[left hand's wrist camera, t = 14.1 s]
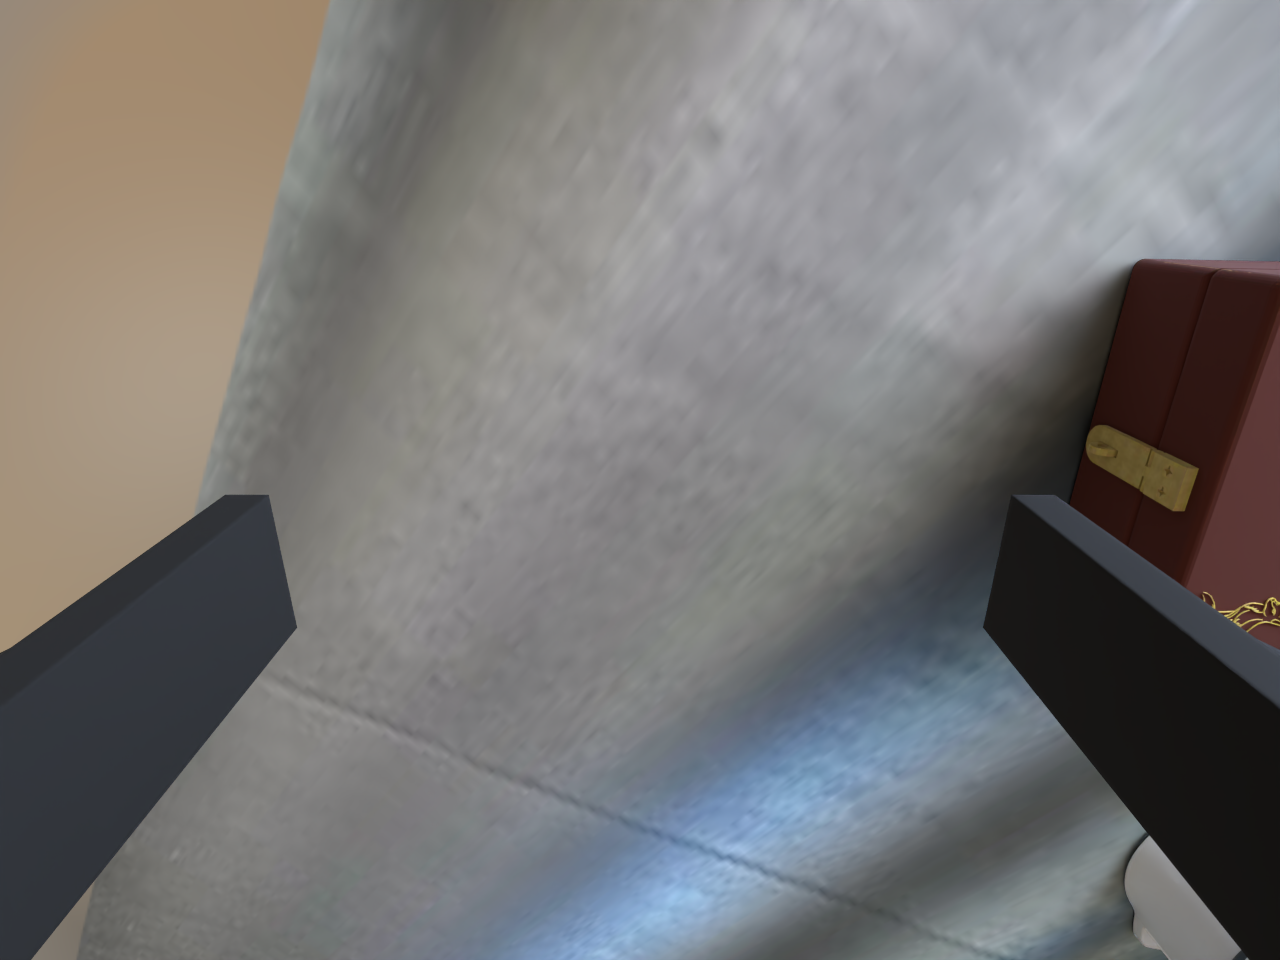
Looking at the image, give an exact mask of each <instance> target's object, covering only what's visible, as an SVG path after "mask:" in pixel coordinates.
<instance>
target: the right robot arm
mask: <svg viewBox="0 0 1280 960" xmlns="http://www.w3.org/2000/svg"><path fill="white" fill-rule="evenodd" d="M1124 883H1125V891H1126V895H1127V897H1128V899H1129V901H1130V903H1131V905H1132V907H1133V909H1134V912H1135V916H1134V922H1133V933H1134V935H1135V936H1136V937H1137V938H1138V940H1139V941H1140V942H1141V943H1142V944H1143V945H1144V946H1145V947H1148V948H1152V949H1159V950H1162V951H1163V953H1164V954H1165V955H1166V957H1167V958H1168V959H1169V960H1249V959H1248V958H1247V957H1246V955H1245V954H1244V953H1243V952H1242V950H1241V949H1240V948H1239V947H1238V945H1237V944H1236V943H1235V942H1234V940H1233V939H1232V938H1231V937H1230V935H1229V934H1228V933H1227V932H1226V930H1225V929H1224V928H1223V927H1222V925H1221V924H1220V923H1219V922H1218V920H1217V919H1216V918H1215V917H1214V915H1213V914H1212V913H1211V912H1210V910H1209V909H1208V908H1207V907H1206V905H1205V904H1204V903H1203V902H1202V900H1201V899H1200V898H1199V897H1198V895H1197V894H1196V893H1195V892H1194V890H1193V889H1192V888H1191V887H1190V885H1189V884H1188V883H1187V882H1186V880H1185V879H1184V878H1183V877H1182V875H1181V874H1180V873H1179V872H1178V870H1177V869H1176V868H1175V867H1174V865H1173V864H1172V863H1171V862H1170V860H1169V859H1168V858H1167V857H1166V855H1165V854H1164V853H1163V852H1162V850H1161V849H1160V848H1159V847H1158V845H1157V844H1156V843H1155V842H1154V840H1153V839H1152V838H1151V837H1150V835H1149V836H1148V837H1147V838H1146V839H1145V840H1144V841H1143V843H1142V844H1141V845H1140V846H1139V847H1138V849H1137V850H1136V851H1135V853H1134V854H1133V856H1132V858H1131V860H1130V862H1129V864H1128V866H1127V870H1126V873H1125V881H1124Z"/></svg>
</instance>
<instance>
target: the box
mask: <svg viewBox="0 0 1280 960" xmlns="http://www.w3.org/2000/svg"><path fill="white" fill-rule="evenodd" d="M1069 505H1070V506H1071V507H1072V508H1074V509H1075V510H1077V511H1078V512H1079V513H1081V514H1082V515H1084V516H1085V517H1086V518H1088V519H1089V520H1091V521H1092V522H1093V523H1095V524H1096V525H1098V526H1099V527H1100V528H1102V529H1103V530H1105V531H1106V532H1108V533H1109V534H1110V535H1112V536H1113V537H1115V538H1116V539H1117V540H1119V541H1120V542H1122V543H1123V544H1124V545H1126V546H1127V547H1129V548H1130V549H1131V550H1133V551H1134V552H1136V553H1137V554H1138V555H1140V556H1141V557H1143V558H1144V559H1145V560H1147V561H1148V562H1150V563H1151V564H1152V565H1154V566H1155V567H1157V568H1158V569H1159V570H1161V571H1162V572H1164V573H1165V574H1166V575H1168V576H1169V577H1171V578H1172V579H1173V580H1175V581H1176V582H1178V583H1179V584H1180V585H1182V586H1183V587H1185V588H1186V589H1187V590H1189V591H1190V592H1192V593H1193V594H1194V595H1196V596H1197V597H1199V598H1200V599H1201V600H1203V601H1204V602H1206V603H1207V604H1208V605H1210V606H1211V607H1213V608H1214V609H1216V610H1217V611H1218V612H1220V613H1221V614H1223V615H1224V616H1225V617H1227V618H1228V619H1230V620H1231V621H1232V622H1234V623H1235V624H1237V625H1238V626H1239V627H1241V628H1242V629H1244V630H1245V631H1246V632H1248V633H1249V634H1251V635H1252V636H1253V637H1255V638H1256V639H1258V640H1260V641H1262V642H1264V643H1267V644H1269V645H1271V646H1273V647H1275V648H1277V649H1279V650H1280V262H1275V261H1225V260H1174V259H1142V260H1140V261H1138V262H1137V263H1136V264H1135V265H1134V267H1133V270H1132V274H1131V278H1130V281H1129V285H1128V289H1127V293H1126V296H1125V300H1124V304H1123V307H1122V311H1121V315H1120V319H1119V322H1118V326H1117V330H1116V333H1115V337H1114V341H1113V345H1112V348H1111V352H1110V356H1109V359H1108V363H1107V367H1106V371H1105V374H1104V378H1103V382H1102V385H1101V389H1100V393H1099V396H1098V400H1097V404H1096V408H1095V411H1094V415H1093V419H1092V422H1091V426H1090V430H1089V434H1088V437H1087V441H1086V445H1085V448H1084V452H1083V456H1082V460H1081V463H1080V467H1079V471H1078V474H1077V478H1076V482H1075V486H1074V489H1073V493H1072V497H1071V500H1070V504H1069Z"/></svg>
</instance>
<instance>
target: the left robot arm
mask: <svg viewBox="0 0 1280 960" xmlns="http://www.w3.org/2000/svg"><path fill="white" fill-rule="evenodd" d="M296 628H297V625H296V621H295V616H294V611H293V607H292V602H291V597H290V593H289V588H288V583H287V579H286V574H285V569H284V565H283V560H282V555H281V551H280V546H279V541H278V537H277V532H276V527H275V523H274V518H273V513H272V509H271V504H270V499H269V495H224V496H223V497H222V498H220V499H219V500H217V501H216V502H215V503H213V504H212V505H210V506H209V507H208V508H206V509H205V510H203V511H202V512H201V513H199V514H198V515H196V516H195V517H194V518H192V519H191V520H189V521H188V522H187V523H185V524H184V525H182V526H181V527H180V528H178V529H177V530H175V531H174V532H172V533H171V534H170V535H168V536H167V537H165V538H164V539H163V540H161V541H160V542H159V543H157V544H156V545H154V546H153V547H151V548H150V549H149V550H147V551H146V552H144V553H143V554H142V555H140V556H139V557H137V558H136V559H135V560H133V561H132V562H130V563H129V564H128V565H126V566H125V567H123V568H122V569H121V570H119V571H118V572H116V573H115V574H114V575H112V576H111V577H109V578H108V579H107V580H105V581H104V582H102V583H101V584H100V585H98V586H97V587H95V588H94V589H93V590H91V591H90V592H88V593H87V594H86V595H84V596H83V597H81V598H80V599H79V600H77V601H76V602H74V603H73V604H72V605H70V606H69V607H67V608H66V609H65V610H63V611H62V612H60V613H59V614H58V615H56V616H55V617H53V618H52V619H50V620H49V621H48V622H46V623H45V624H43V625H42V626H41V627H39V628H38V629H37V630H35V631H34V632H32V633H31V634H29V635H28V636H27V637H25V638H24V639H22V640H21V641H20V642H18V643H17V644H15V645H14V646H13V647H11V648H9V649H7V650H5V651H3V652H1V653H0V960H31V959H32V958H33V957H34V955H35V954H36V953H37V952H38V950H39V949H40V948H41V947H42V945H43V944H44V943H45V942H46V940H47V939H48V938H49V937H50V935H51V934H52V933H53V931H54V930H55V929H56V928H57V927H58V925H59V924H60V923H61V922H62V920H63V919H64V918H65V917H66V915H67V914H68V913H69V912H70V910H71V909H72V908H73V907H74V905H75V904H76V903H77V902H78V900H79V899H80V898H81V897H82V895H83V894H84V893H85V892H86V890H87V889H88V888H89V887H90V885H91V884H92V883H93V882H94V880H95V879H96V878H97V877H98V875H99V874H100V873H101V872H102V870H103V869H104V868H105V867H106V865H107V864H108V863H109V862H110V860H111V859H112V858H113V857H114V855H115V854H116V853H117V852H118V850H119V849H120V848H121V847H122V845H123V844H124V843H125V842H126V840H127V839H128V838H129V837H130V835H131V834H132V833H133V832H134V830H135V829H136V828H137V827H138V825H139V824H140V823H141V822H142V820H143V819H144V818H145V817H146V815H147V814H148V813H149V812H150V810H151V809H152V808H153V807H154V805H155V804H156V803H157V802H158V800H159V799H160V798H161V797H162V795H163V794H164V793H165V792H166V790H167V789H168V788H169V787H170V785H171V784H172V783H173V782H174V780H175V779H176V778H177V777H178V775H179V774H180V773H181V772H182V770H183V769H184V768H185V767H186V765H187V764H188V763H189V762H190V760H191V759H192V758H193V757H194V755H195V754H196V753H197V752H198V750H199V749H200V748H201V747H202V746H203V744H204V743H205V742H206V741H207V739H208V738H209V737H210V736H211V734H212V733H213V732H214V731H215V729H216V728H217V727H218V726H219V724H220V723H221V722H222V721H223V719H224V718H225V717H226V716H227V714H228V713H229V712H230V711H231V709H232V708H233V707H234V706H235V704H236V703H237V702H238V701H239V699H240V698H241V697H242V696H243V694H244V693H245V692H246V691H247V689H248V688H249V687H250V686H251V684H252V683H253V682H254V681H255V679H256V678H257V677H258V676H259V674H260V673H261V672H262V671H263V669H264V668H265V667H266V666H267V664H268V663H269V662H270V661H271V659H272V658H273V657H274V656H275V654H276V653H277V652H278V651H279V649H280V648H281V647H282V646H283V644H284V643H285V642H286V641H287V639H288V638H289V637H290V636H291V634H292V633H293V632H294V631H295V629H296ZM983 628H984V629H985V631H986V632H987V633H988V634H989V636H990V637H991V638H992V639H993V641H994V642H995V643H996V644H997V646H998V647H999V648H1000V649H1001V651H1002V652H1003V653H1004V654H1005V656H1006V657H1007V658H1008V659H1009V661H1010V662H1011V663H1012V664H1013V666H1014V667H1015V668H1016V669H1017V671H1018V672H1019V673H1020V674H1021V676H1022V677H1023V678H1024V679H1025V681H1026V682H1027V683H1028V684H1029V686H1030V687H1031V688H1032V689H1033V691H1034V692H1035V693H1036V694H1037V696H1038V697H1039V698H1040V699H1041V701H1042V702H1043V703H1044V704H1045V706H1046V707H1047V708H1048V709H1049V711H1050V712H1051V713H1052V714H1053V716H1054V717H1055V718H1056V719H1057V721H1058V722H1059V723H1060V724H1061V726H1062V727H1063V728H1064V729H1065V731H1066V732H1067V733H1068V734H1069V736H1070V737H1071V738H1072V739H1073V741H1074V742H1075V743H1076V744H1077V746H1078V747H1079V748H1080V749H1081V750H1082V752H1083V753H1084V754H1085V755H1086V757H1087V758H1088V759H1089V760H1090V762H1091V763H1092V764H1093V765H1094V767H1095V768H1096V769H1097V770H1098V772H1099V773H1100V774H1101V775H1102V777H1103V778H1104V779H1105V780H1106V782H1107V783H1108V784H1109V785H1110V787H1111V788H1112V789H1113V790H1114V792H1115V793H1116V794H1117V795H1118V797H1119V798H1120V799H1121V800H1122V802H1123V803H1124V804H1125V805H1126V807H1127V808H1128V809H1129V810H1130V812H1131V813H1132V814H1133V815H1134V817H1135V818H1136V819H1137V820H1138V822H1139V823H1140V824H1141V825H1142V827H1143V828H1144V829H1145V830H1146V832H1147V833H1148V834H1149V835H1150V837H1151V838H1152V839H1153V840H1154V842H1155V843H1156V844H1157V845H1158V847H1159V848H1160V849H1161V850H1162V852H1163V853H1164V854H1165V855H1166V857H1167V858H1168V859H1169V860H1170V862H1171V863H1172V864H1173V865H1174V867H1175V868H1176V869H1177V870H1178V872H1179V873H1180V874H1181V875H1182V877H1183V878H1184V879H1185V880H1186V882H1187V883H1188V884H1189V885H1190V887H1191V888H1192V889H1193V890H1194V892H1195V893H1196V894H1197V895H1198V897H1199V898H1200V899H1201V900H1202V902H1203V903H1204V904H1205V905H1206V907H1207V908H1208V909H1209V910H1210V912H1211V913H1212V914H1213V915H1214V917H1215V918H1216V919H1217V920H1218V922H1219V923H1220V924H1221V925H1222V927H1223V928H1224V929H1225V930H1226V932H1227V933H1228V934H1229V935H1230V937H1231V938H1232V939H1233V940H1234V942H1235V943H1236V944H1237V945H1238V947H1239V948H1240V949H1241V950H1242V952H1243V953H1244V954H1245V955H1246V957H1247V958H1248V959H1249V960H1280V650H1279V649H1277V648H1275V647H1273V646H1271V645H1269V644H1267V643H1264V642H1262V641H1260V640H1258V639H1256V638H1255V637H1253V636H1252V635H1251V634H1249V633H1248V632H1246V631H1245V630H1244V629H1242V628H1241V627H1239V626H1238V625H1237V624H1235V623H1234V622H1232V621H1231V620H1230V619H1228V618H1227V617H1225V616H1224V615H1223V614H1221V613H1220V612H1218V611H1217V610H1216V609H1214V608H1213V607H1211V606H1210V605H1208V604H1207V603H1206V602H1204V601H1203V600H1201V599H1200V598H1199V597H1197V596H1196V595H1194V594H1193V593H1192V592H1190V591H1189V590H1187V589H1186V588H1185V587H1183V586H1182V585H1180V584H1179V583H1178V582H1176V581H1175V580H1173V579H1172V578H1171V577H1169V576H1168V575H1166V574H1165V573H1164V572H1162V571H1161V570H1159V569H1158V568H1157V567H1155V566H1154V565H1152V564H1151V563H1150V562H1148V561H1147V560H1145V559H1144V558H1143V557H1141V556H1140V555H1138V554H1137V553H1136V552H1134V551H1133V550H1131V549H1130V548H1129V547H1127V546H1126V545H1124V544H1123V543H1122V542H1120V541H1119V540H1117V539H1116V538H1115V537H1113V536H1112V535H1110V534H1109V533H1108V532H1106V531H1105V530H1103V529H1102V528H1100V527H1099V526H1098V525H1096V524H1095V523H1093V522H1092V521H1091V520H1089V519H1088V518H1086V517H1085V516H1084V515H1082V514H1081V513H1079V512H1078V511H1077V510H1075V509H1074V508H1072V507H1071V506H1070V505H1068V504H1067V503H1065V502H1064V501H1063V500H1061V499H1060V498H1058V497H1057V496H1056V495H1011V499H1010V504H1009V509H1008V513H1007V518H1006V523H1005V527H1004V532H1003V537H1002V541H1001V546H1000V551H999V555H998V560H997V565H996V569H995V574H994V579H993V583H992V588H991V593H990V597H989V602H988V607H987V611H986V616H985V621H984V625H983Z"/></svg>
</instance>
